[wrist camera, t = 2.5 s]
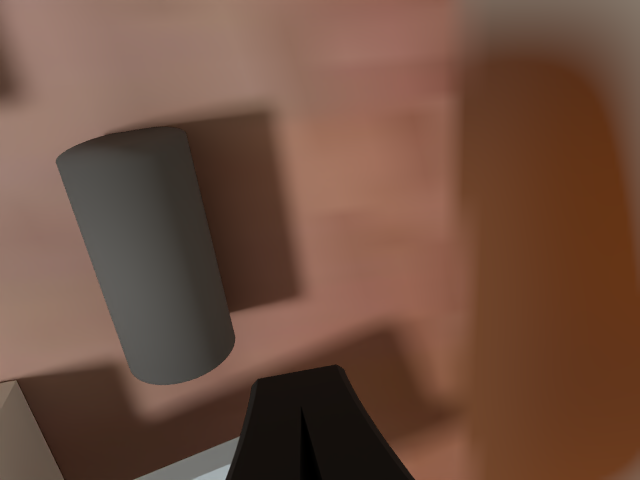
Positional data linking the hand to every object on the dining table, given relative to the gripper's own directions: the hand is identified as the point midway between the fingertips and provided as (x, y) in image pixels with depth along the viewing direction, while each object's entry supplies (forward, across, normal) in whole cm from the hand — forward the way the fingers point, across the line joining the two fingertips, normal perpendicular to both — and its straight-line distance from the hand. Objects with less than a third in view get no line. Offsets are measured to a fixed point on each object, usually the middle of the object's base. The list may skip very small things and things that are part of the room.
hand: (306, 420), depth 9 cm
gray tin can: (+6, +5, 0) cm, 8 cm away
